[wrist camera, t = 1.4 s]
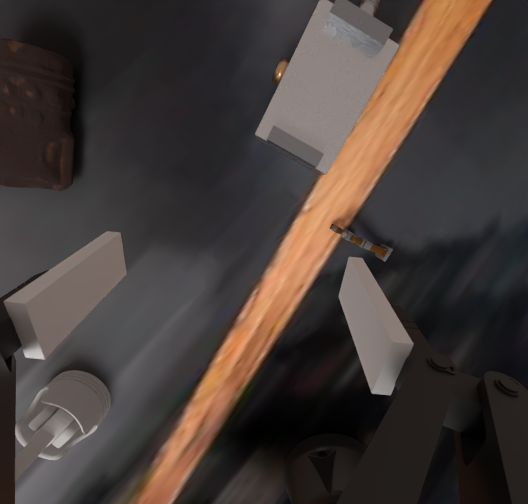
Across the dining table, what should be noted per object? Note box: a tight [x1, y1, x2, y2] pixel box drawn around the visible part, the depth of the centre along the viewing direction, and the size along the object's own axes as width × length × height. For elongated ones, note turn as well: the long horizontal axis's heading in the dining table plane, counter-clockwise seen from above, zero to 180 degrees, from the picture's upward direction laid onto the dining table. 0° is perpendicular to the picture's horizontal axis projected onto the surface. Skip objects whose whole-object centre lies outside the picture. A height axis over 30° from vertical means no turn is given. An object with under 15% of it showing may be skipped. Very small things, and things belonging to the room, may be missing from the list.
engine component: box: [15, 370, 111, 482], centre depth 35 cm, size 11×20×10 cm
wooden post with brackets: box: [330, 224, 393, 261], centre depth 35 cm, size 2×8×4 cm, turn 64°
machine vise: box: [255, 0, 400, 175], centre depth 29 cm, size 10×17×6 cm, turn 152°
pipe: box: [0, 39, 75, 191], centre depth 31 cm, size 10×15×15 cm
